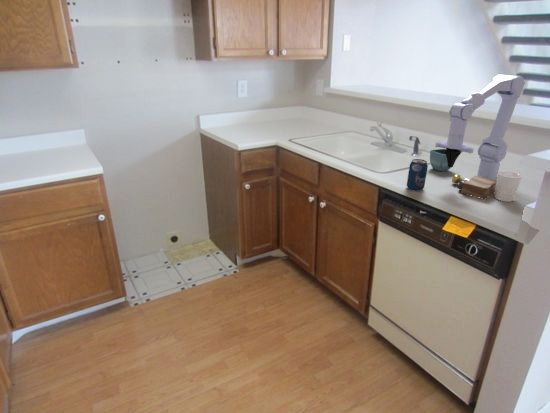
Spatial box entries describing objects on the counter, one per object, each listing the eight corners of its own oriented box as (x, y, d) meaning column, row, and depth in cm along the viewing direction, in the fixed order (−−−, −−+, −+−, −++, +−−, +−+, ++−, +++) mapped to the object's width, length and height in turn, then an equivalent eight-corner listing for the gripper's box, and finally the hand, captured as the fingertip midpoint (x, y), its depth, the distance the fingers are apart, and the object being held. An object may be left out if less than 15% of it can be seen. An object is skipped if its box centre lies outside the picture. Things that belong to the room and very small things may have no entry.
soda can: (417, 193, 154) (421, 164, 150) (402, 188, 160) (406, 160, 155) (427, 189, 158) (432, 161, 153) (412, 184, 163) (417, 157, 159)
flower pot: (440, 166, 188) (444, 148, 184) (454, 171, 180) (458, 152, 177) (426, 168, 185) (429, 149, 181) (439, 173, 177) (443, 154, 174)
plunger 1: (454, 181, 166) (456, 173, 164) (478, 187, 159) (480, 179, 158) (451, 183, 164) (453, 175, 162) (475, 189, 157) (477, 181, 156)
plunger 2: (461, 187, 159) (462, 179, 157) (486, 194, 152) (488, 185, 151) (457, 190, 156) (459, 181, 155) (482, 196, 150) (484, 187, 149)
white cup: (507, 194, 153) (513, 171, 149) (519, 202, 146) (526, 177, 142) (488, 194, 153) (493, 171, 149) (499, 202, 145) (505, 177, 141)
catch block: (473, 185, 162) (475, 175, 161) (496, 191, 156) (498, 180, 155) (461, 193, 154) (463, 182, 152) (484, 199, 148) (487, 188, 146)
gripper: (434, 133, 155) (429, 165, 160) (471, 139, 145) (464, 173, 150) (442, 130, 159) (436, 161, 165) (478, 136, 150) (471, 169, 155)
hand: (450, 166), depth 158 cm, fingers closed
